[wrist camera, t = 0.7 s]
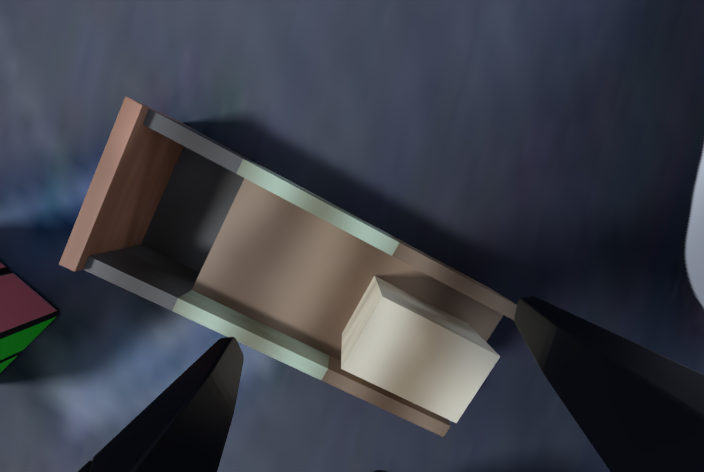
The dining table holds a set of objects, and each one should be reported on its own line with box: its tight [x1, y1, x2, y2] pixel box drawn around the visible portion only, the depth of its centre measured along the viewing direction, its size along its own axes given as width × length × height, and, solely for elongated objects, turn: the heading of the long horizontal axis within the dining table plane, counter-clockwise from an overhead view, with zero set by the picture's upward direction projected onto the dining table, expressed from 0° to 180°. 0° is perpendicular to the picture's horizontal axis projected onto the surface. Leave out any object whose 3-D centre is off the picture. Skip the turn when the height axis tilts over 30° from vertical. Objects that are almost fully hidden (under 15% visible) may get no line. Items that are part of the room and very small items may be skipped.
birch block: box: [341, 276, 500, 423], centre depth 17 cm, size 8×5×4 cm, turn 62°
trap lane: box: [59, 97, 517, 437], centre depth 19 cm, size 28×11×5 cm, turn 62°
